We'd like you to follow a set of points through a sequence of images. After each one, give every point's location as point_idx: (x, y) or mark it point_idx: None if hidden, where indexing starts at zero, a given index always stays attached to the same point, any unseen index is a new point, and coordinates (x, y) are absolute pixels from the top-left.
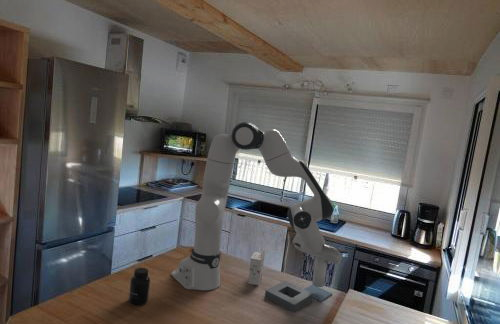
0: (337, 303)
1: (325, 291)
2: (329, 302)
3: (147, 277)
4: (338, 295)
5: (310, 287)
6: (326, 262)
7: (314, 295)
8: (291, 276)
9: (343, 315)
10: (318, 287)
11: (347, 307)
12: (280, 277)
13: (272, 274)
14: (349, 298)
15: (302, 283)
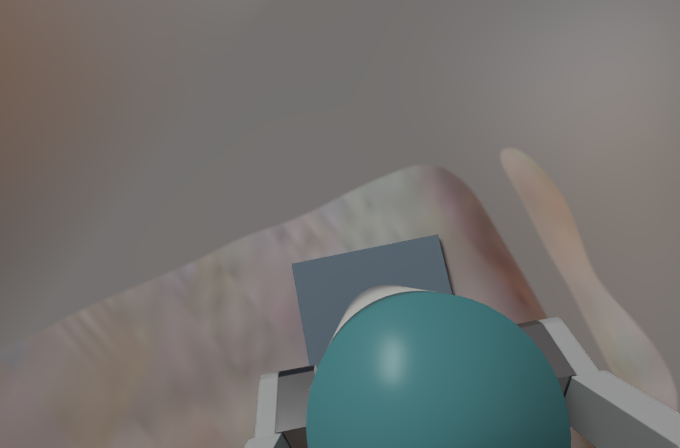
0: (529, 296)
1: (399, 258)
2: None
3: None
4: (459, 205)
5: (315, 311)
6: None
7: None
8: (133, 294)
9: (650, 385)
10: (340, 258)
11: (590, 277)
12: (105, 382)
13: (45, 403)
14: (515, 171)
15: (240, 301)
